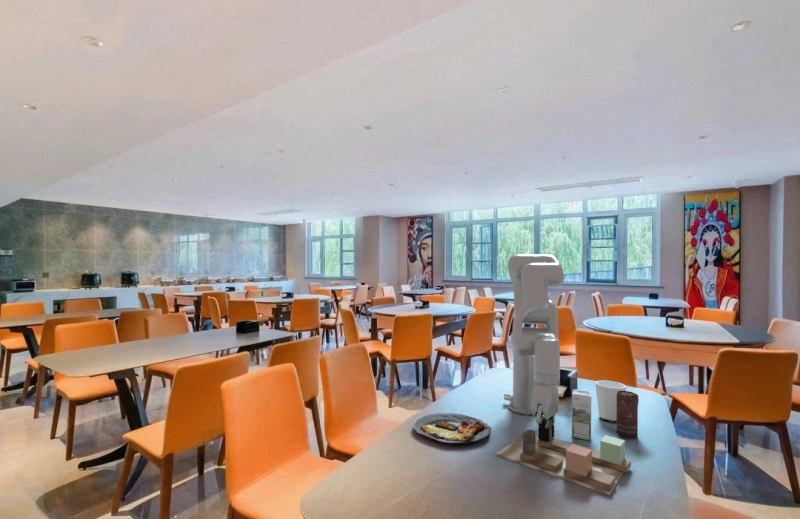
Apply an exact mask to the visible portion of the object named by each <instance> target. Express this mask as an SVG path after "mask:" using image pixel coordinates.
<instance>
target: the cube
mask: <svg viewBox="0 0 800 519" xmlns="http://www.w3.org/2000/svg"><path fill="white" fill-rule="evenodd" d="M599 442H600V443H599V444H600V446H599V447H600V450H599V451H600V459H602V460H605V461H608V462H612V463H615V464H618V465H621V464H622V462H623V461H624V459H626V440H624V439H621V438H617V437H614V436H611V435H606V434H605V435H604V436H603V437H602V438H601V439H600V441H599Z"/></svg>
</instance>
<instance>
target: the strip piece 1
mask: <svg viewBox="0 0 800 519" xmlns="http://www.w3.org/2000/svg"><path fill="white" fill-rule="evenodd" d="M536 432H537V431H536V430H533V429H529V428H527V429H525V430H524V431H523V432H522V435H523V453H521V454H520V460H523V461H526V462H528V463H531V464H534V465H537V466H540V467H543V468H546V469H549V470H551V471H554V472H557V471H558V470H559V469H560V468H561V467H562V466H563V460H562V459H559V458H556V457H553V456H550V455H547V454H544V453H541V452H537V451H535V447H536V436H537V435H536Z"/></svg>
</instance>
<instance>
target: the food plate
mask: <svg viewBox="0 0 800 519" xmlns="http://www.w3.org/2000/svg"><path fill="white" fill-rule="evenodd" d="M413 428H414V431H416V433H417V434H420V435H422V436H425V437H427V438H429V439H433V440H435V441H439V442H441V443H445V444H452V445H454V444H458V445H461V444H463V445H464V444H470V443H476V442H478V441H481V440H483V439H485V438H488V437H489V436H490V435H491V430H492V428H491V426H490V425H488V423H486V422H484V421H483V420H481V419H479V418H475V417H472V416H469V415H466V414H462V413H456V412H454V413H453V412H451V413H450V412H448V413H447V412H446V413H443V412H442V413H441V412H440V413H439V412H438V413H432V414H428V415H424V416H422V417H420V418H418V419H416V421H415V422H414V424H413Z"/></svg>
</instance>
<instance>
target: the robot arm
mask: <svg viewBox="0 0 800 519" xmlns="http://www.w3.org/2000/svg"><path fill="white" fill-rule="evenodd" d="M507 267H508V268H507V269H508V274H509V278H510V281H511V284H512V286H513V304H514V306H513V307H514V318H513V322H512V331H511V333H510V341H511V348H512V394H509V393H504V395H503V399H504V400H505V401H509V404H508V409H509V410H511V411H512V412H514V413H517V414H520V415H526V416H527V415H528V416H533V417H535V416H536V418H535V422H536V423H537V428H538V432H537V433H538V435H537V436H538V438H539V439H540V440H543V441H547V442H549V428H548V422H549V418H550V419H552V438H555V422H556V420H555V417H556V414H557V413H558V411H559V405H560V402H559V401H560V398H559V395H560V394H559V386H560V384H561V380H560V379H561V343H560V339H559V338H560V337H559V336H560V335H559V314H558V313H559V312H558V308H557V305H556V303H555V302H554V301H553V300H550V295H549V289H548V287H551V288H552V287H554V288H555V287H556V288H557V287H560V286H562V285H563V284H564V280H565V273H564V269H563V267H562V265H561V263H560V261H559V260H558V259H557V258H556V256H555V255H552V254H547V253H546V254H542V253H541V254H539V253H538V254H537V253H519V254H514V255H511V256H510V257H509V259H508V261H507ZM522 324H528V325H531V324H532V325H543V326H544V327H534V326H533V327H531V326H529V327H528V326H527V327H526V326H524V327H523V325H522ZM542 419H544V420H545V421H543V420H542Z"/></svg>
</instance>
